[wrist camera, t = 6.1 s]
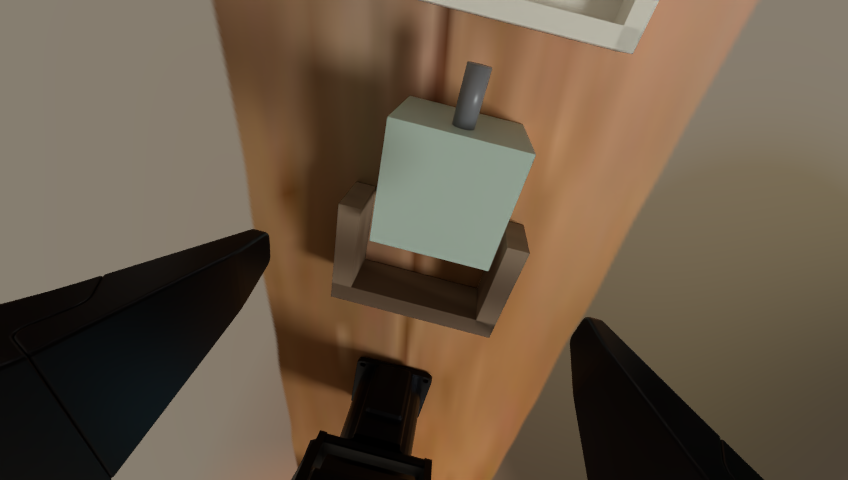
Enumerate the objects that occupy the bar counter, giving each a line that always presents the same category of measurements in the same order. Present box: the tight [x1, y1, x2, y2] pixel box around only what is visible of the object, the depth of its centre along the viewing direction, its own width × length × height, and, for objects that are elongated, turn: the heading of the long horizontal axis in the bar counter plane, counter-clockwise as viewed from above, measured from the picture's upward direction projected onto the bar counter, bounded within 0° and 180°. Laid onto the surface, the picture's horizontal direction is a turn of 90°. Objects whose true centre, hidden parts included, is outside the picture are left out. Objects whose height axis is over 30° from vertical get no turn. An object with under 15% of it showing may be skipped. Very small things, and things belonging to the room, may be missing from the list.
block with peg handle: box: [370, 62, 536, 271], centre depth 16 cm, size 8×6×5 cm
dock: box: [331, 182, 530, 338], centre depth 21 cm, size 7×10×3 cm, turn 78°
